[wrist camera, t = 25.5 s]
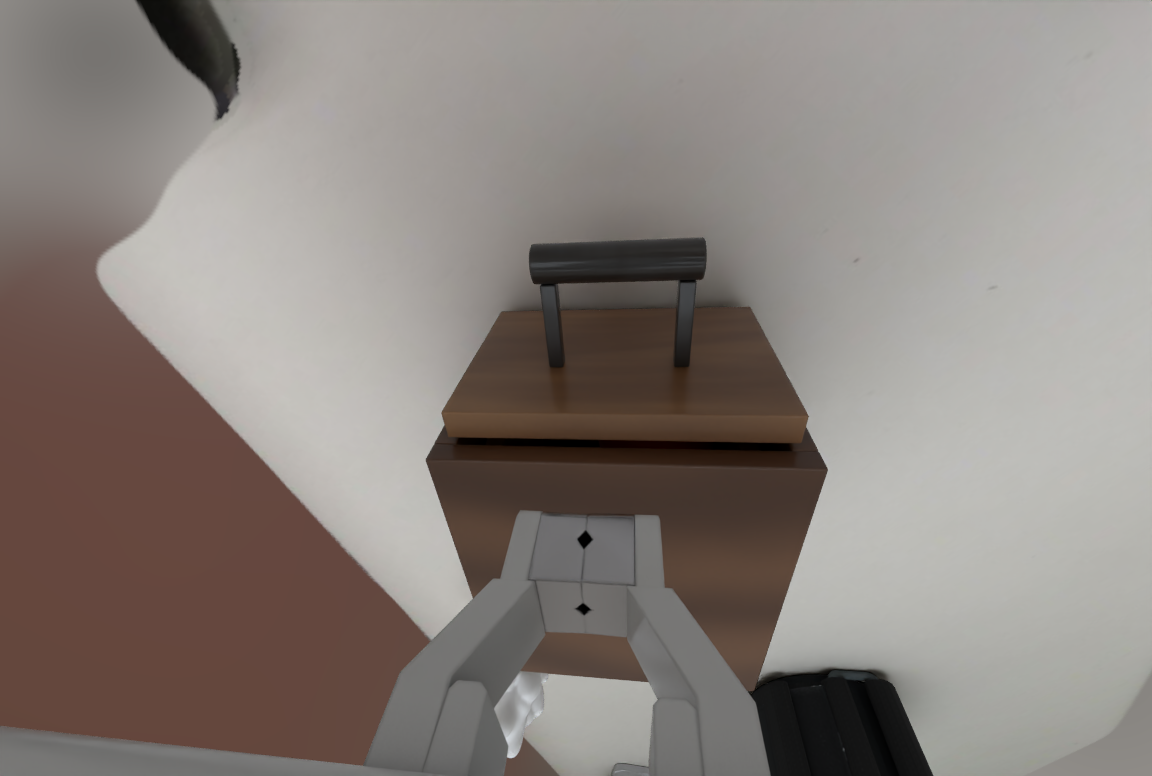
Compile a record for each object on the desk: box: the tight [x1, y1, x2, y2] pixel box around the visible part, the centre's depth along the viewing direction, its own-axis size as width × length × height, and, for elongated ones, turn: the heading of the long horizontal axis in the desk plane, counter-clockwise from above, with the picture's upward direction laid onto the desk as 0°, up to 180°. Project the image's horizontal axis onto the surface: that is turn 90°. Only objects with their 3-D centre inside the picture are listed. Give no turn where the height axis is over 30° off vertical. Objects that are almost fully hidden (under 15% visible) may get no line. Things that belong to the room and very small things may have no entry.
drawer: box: [442, 237, 809, 451], centre depth 22 cm, size 20×13×9 cm, turn 4°
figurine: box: [494, 671, 548, 758], centre depth 34 cm, size 7×7×12 cm
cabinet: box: [426, 425, 828, 691], centre depth 24 cm, size 16×14×11 cm
